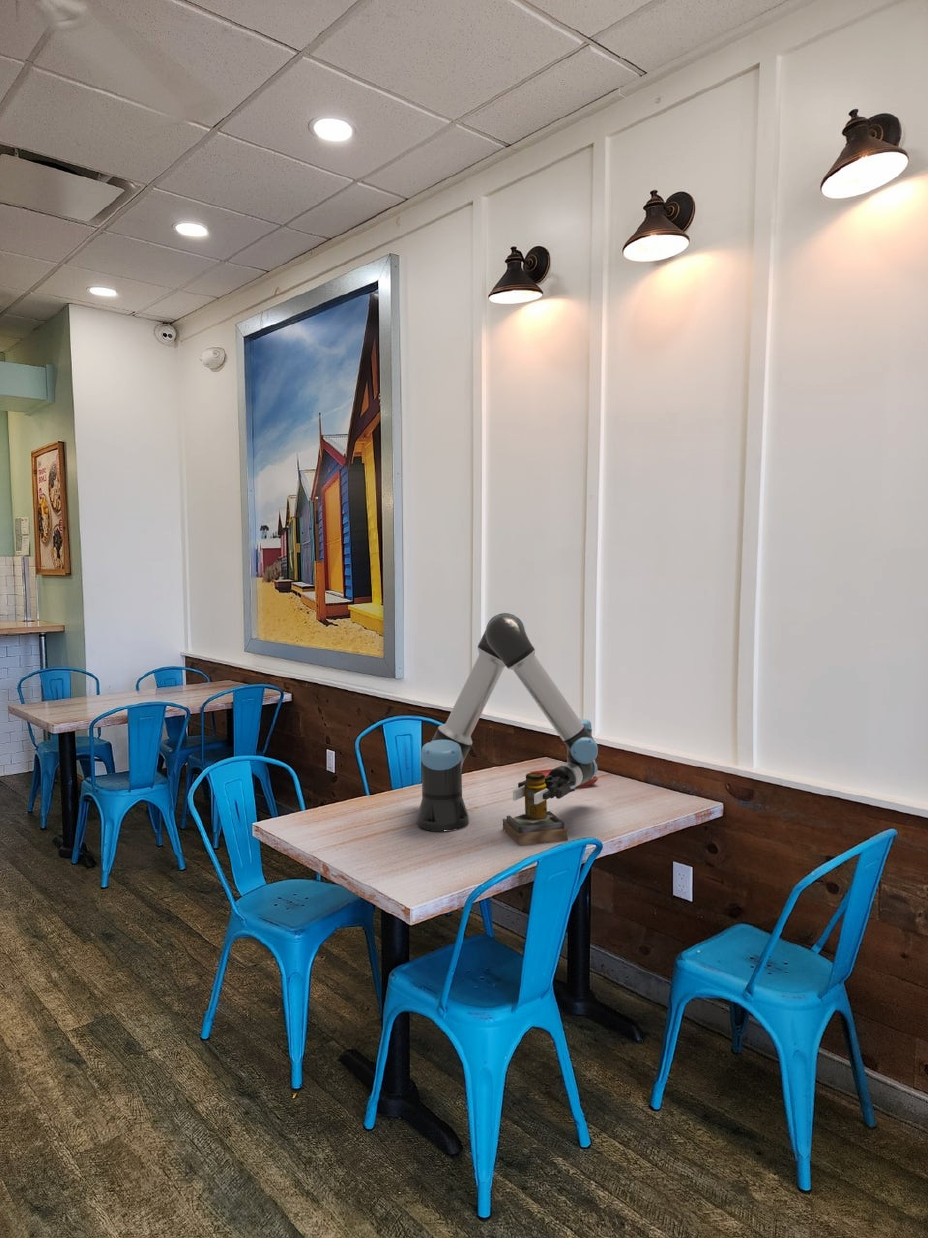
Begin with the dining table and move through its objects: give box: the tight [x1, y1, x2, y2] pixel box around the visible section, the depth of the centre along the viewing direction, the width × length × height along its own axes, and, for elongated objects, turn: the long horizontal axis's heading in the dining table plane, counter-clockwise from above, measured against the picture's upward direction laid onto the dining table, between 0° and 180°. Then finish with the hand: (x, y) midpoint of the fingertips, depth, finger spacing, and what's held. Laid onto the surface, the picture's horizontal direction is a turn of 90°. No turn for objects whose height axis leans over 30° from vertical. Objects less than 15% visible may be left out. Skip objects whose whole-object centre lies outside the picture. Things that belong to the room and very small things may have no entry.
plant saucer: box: [529, 768, 599, 789], centre depth 276 cm, size 18×18×3 cm
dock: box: [502, 810, 569, 846], centre depth 223 cm, size 14×14×4 cm
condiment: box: [513, 772, 553, 823], centre depth 222 cm, size 7×8×12 cm
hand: (524, 797), depth 218 cm, fingers closed on condiment, 6 cm apart
